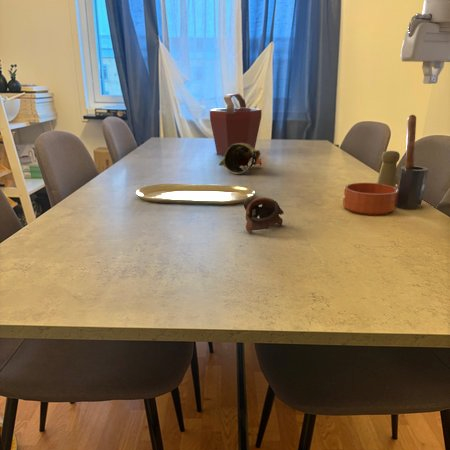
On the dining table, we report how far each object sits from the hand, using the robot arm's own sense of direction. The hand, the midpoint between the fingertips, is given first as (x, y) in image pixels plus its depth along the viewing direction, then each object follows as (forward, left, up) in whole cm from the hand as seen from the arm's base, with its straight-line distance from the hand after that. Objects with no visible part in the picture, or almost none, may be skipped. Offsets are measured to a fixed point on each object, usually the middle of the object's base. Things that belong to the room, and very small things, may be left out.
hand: (429, 83), depth 104 cm
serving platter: (+58, -11, -30) cm, 66 cm away
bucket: (+45, -91, -30) cm, 106 cm away
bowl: (+11, +3, -30) cm, 32 cm away
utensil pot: (0, 0, -30) cm, 30 cm away
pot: (+42, -47, -30) cm, 70 cm away
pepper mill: (-2, -22, -30) cm, 37 cm away
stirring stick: (0, 0, -29) cm, 29 cm away
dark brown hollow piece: (+41, +19, -30) cm, 54 cm away
